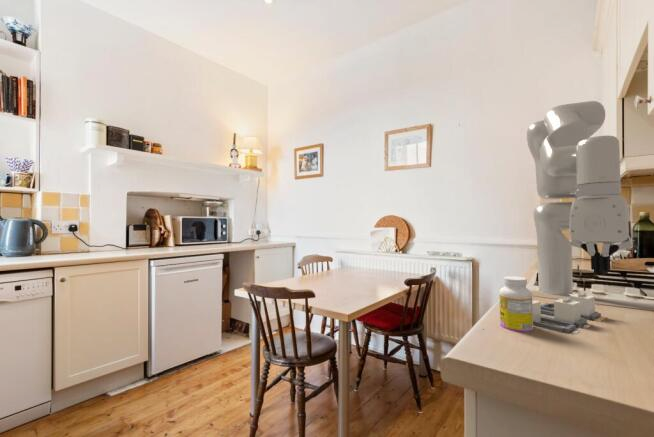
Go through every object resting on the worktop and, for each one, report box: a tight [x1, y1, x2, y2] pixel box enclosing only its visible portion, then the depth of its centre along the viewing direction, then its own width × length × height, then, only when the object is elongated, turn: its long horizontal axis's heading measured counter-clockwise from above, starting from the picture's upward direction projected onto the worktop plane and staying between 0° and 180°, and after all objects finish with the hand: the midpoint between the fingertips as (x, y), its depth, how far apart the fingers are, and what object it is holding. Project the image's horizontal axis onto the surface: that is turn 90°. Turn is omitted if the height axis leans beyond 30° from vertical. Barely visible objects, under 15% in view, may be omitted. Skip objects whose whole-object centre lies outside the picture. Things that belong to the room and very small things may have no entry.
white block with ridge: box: [553, 297, 581, 323], centre depth 77 cm, size 4×4×6 cm
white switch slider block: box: [569, 292, 596, 316], centre depth 81 cm, size 4×4×6 cm
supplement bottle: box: [499, 275, 534, 333], centre depth 74 cm, size 7×7×13 cm
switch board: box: [532, 299, 608, 335], centre depth 80 cm, size 22×15×7 cm
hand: (600, 273), depth 71 cm, fingers closed
